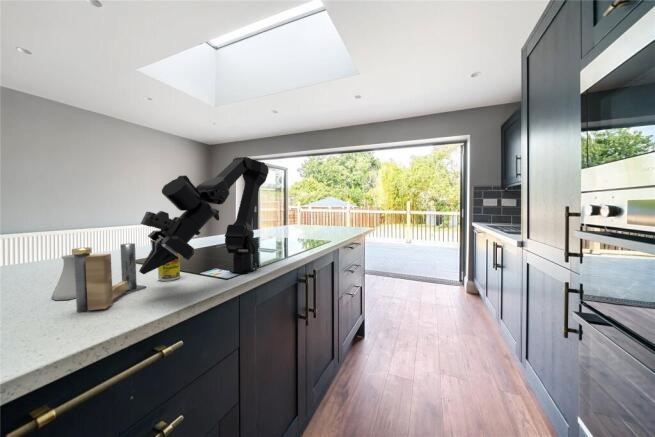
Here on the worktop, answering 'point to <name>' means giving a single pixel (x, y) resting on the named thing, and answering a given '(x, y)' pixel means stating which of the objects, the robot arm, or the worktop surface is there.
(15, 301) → the worktop surface
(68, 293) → the flask
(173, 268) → the supplement bottle
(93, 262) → the tan flat l-shaped piece
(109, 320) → the worktop surface
